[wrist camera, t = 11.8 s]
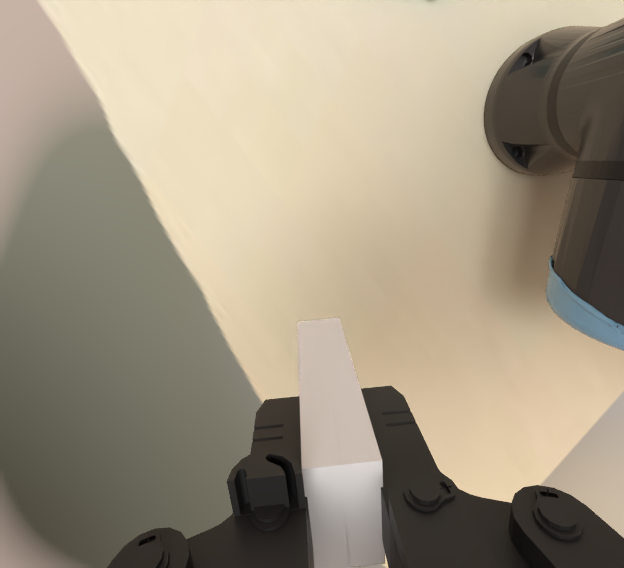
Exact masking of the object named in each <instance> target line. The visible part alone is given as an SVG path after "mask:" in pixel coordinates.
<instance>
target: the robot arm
mask: <svg viewBox="0 0 624 568" xmlns="http://www.w3.org/2000/svg"><path fill="white" fill-rule="evenodd" d="M484 122H485V130H486V135H487V139H488V141H489V144H490V146H491V148H492V150H493V152H494V153H495V155H496V156H497V157H498V158H499V159H500V161H502V162H503V163H504V164H505V165H506V166H508V167H509V168H511V169H513V170H515V171H517V172H520V173H524V174H531V175H554V174H560V173H564V172H567V171H570V170H573V169H574V173H573V176H572V179H571V183H570V187H569V191H568V195H567V199H566V203H565V207H564V211H563V215H562V219H561V223H560V227H559V231H558V235H557V239H556V243H555V247H554V251H553V255H552V256H551V257H550V259H549V269H550V271H549V277H548V282H547V288H546V298H547V301H548V303H549V304H550V306H551V308H552V310H553V311H554V312H555V314H557V316H558V317H560V318H561V319H562V320H563V321H564V322H566V323H567V324H568V325H570V326H571V327H573V328H575V329H576V330H578V331H580V332H581V333H583V334H585V335H587V336H589V337H591V338H593V339H595V340H598V341H600V342H602V343H605V344H607V345H610V346H612V347H615V348H618V349H621V350H624V18H623V19H621V20H619V21H617V22H614V23H612V24H610V25H608V26H605V27H585V26H569V27H563V28H559V29H555V30H552V31H549V32H547V33H544V34H542V35H540V36H538V37H536V38H534V39H532V40H530V41H529V42H527V43H525V44H524V45H522V46H521V47H520V48H518V49H517V50H516V51H515V52H514V53H513V54H512V55H511V56H510V57H509V58H508V59H507V60H506V61H505V62H504V64H503V65H502V66H501V68H500V69H499V71H498V73H497V74H496V76H495V78H494V80H493V82H492V84H491V87H490V89H489V92H488V96H487V100H486V105H485V113H484ZM297 333H298V365H299V396H298V397H289V398H279V399H269V400H265V401H264V403H263V404H262V406H261V407H260V408H259V410H258V411H257V413H256V419H255V426H254V428H255V430H254V433H253V443H252V448H251V454H250V455H249V456H247V457H245V458H243V459H242V460H241V461H240V462H239V463H238V464H237V465H236V466H235V467H234V468H233V469H232V471H231V473H230V475H229V478H228V480H227V484H228V489H229V494H230V499H231V504H232V509H233V514H232V515H231V516H230V517H229V518H227V519H226V520H225V521H224V522H222V523H221V524H219V525H218V526H215V527H214V528H212V529H210V530H207V531H205V532H203V533H200V534H198V535H196V536H193V537H191V538H189V539H185V537H184V536H183V534H182V533H181V532H179V531H177V530H174V529H172V528H158V529H153V530H151V531H148V532H146V533H143V534H141V535H139V536H137V537H136V538H135V539H134V540H132V541H131V542H129V543H128V544H127V545H126V546H124V547H123V549H122V550H121V551H120V552H119V553H118V554H117V555H116V557H115V558H114V559H113V560H112V562H111V563H110V565H109V566H108V567H107V568H350V567H360V566H369V565H377V564H385V554H386V558H387V562H388V567H389V568H624V538H623V537H622V536H620V535H619V534H618V533H617V532H616V531H615V530H614V529H612V528H611V527H610V526H609V525H608V524H607V523H606V522H604V521H603V520H602V519H601V518H600V517H598V516H597V515H596V514H595V513H594V512H593V511H592V510H591V509H589V508H588V507H587V506H586V505H584V504H583V503H581V502H580V501H578V500H577V499H576V498H574V497H573V496H571V495H569V494H567V493H564V492H562V491H560V490H557V489H555V488H550V487H545V486H539V485H536V486H529V487H524V488H522V489H521V490H519V491H518V492H517V493H515V495H514V498H513V500H512V503H508V502H503V501H497V500H492V499H486V498H481V497H477V496H474V495H470V494H468V493H466V492H464V491H462V490H459V489H458V488H457V486H456V485H455V484H454V482H453V481H452V480H451V479H449V478H448V477H447V476H445V475H444V474H442V473H441V472H440V471H439V469H438V468H437V465H436V463H435V461H434V459H433V457H432V455H431V453H430V451H429V449H428V446H427V444H426V442H425V440H424V438H423V436H422V434H421V432H420V430H419V427H418V425H417V424H416V422H415V419H414V417H413V415H412V413H411V412H410V408H409V406H408V404H407V402H406V400H405V398H404V396H403V395H402V394H400V393H399V392H398V391H397V390H396V389H394V388H393V387H392V386H384V387H374V388H364V389H361V388H360V385H359V381H358V378H357V375H356V371H355V368H354V365H353V361H352V358H351V355H350V351H349V348H348V345H347V341H346V338H345V335H344V331H343V328H342V325H341V321H340V318H339V317H337V318H327V319H317V320H307V321H297Z"/></svg>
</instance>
